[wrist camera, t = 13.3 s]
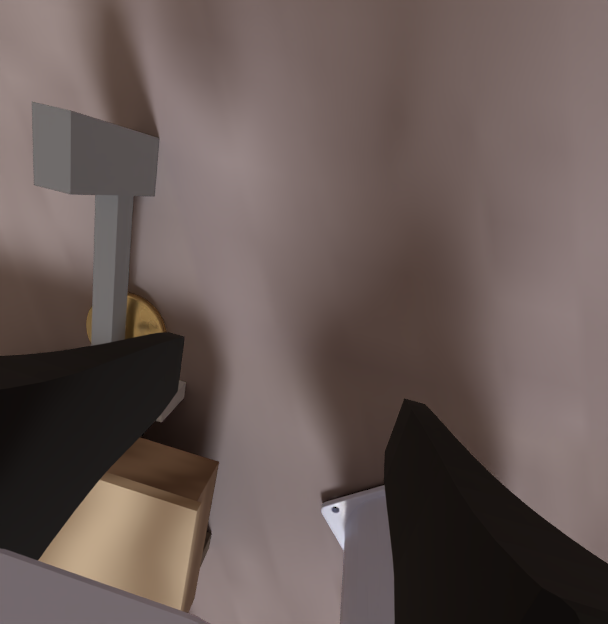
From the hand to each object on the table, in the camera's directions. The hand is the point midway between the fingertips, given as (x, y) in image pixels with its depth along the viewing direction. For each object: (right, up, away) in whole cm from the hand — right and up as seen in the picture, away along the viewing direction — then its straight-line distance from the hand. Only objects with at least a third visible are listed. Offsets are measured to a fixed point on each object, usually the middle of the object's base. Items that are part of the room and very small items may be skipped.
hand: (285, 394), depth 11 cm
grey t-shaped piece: (-9, +5, +10) cm, 15 cm away
